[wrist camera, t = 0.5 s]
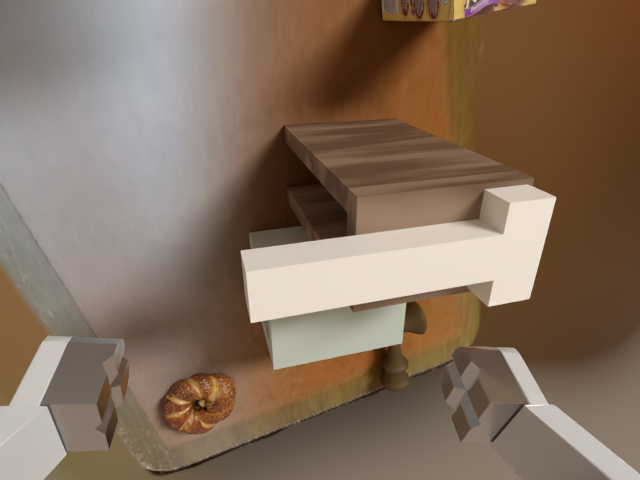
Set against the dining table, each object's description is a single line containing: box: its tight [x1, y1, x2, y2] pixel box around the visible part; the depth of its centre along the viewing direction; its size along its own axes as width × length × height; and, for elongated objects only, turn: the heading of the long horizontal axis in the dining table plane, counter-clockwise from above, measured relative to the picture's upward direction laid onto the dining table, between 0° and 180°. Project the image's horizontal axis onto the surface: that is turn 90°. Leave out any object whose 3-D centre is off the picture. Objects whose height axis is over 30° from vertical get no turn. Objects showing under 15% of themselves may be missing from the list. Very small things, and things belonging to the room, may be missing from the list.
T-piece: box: [241, 184, 556, 323], centre depth 31 cm, size 9×23×3 cm, turn 91°
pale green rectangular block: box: [249, 226, 406, 370], centre depth 54 cm, size 10×16×16 cm, turn 91°
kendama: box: [373, 301, 427, 391], centre depth 70 cm, size 6×10×20 cm
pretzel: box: [162, 373, 236, 435], centre depth 66 cm, size 12×11×4 cm
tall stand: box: [284, 119, 534, 312], centre depth 45 cm, size 10×15×26 cm, turn 91°
